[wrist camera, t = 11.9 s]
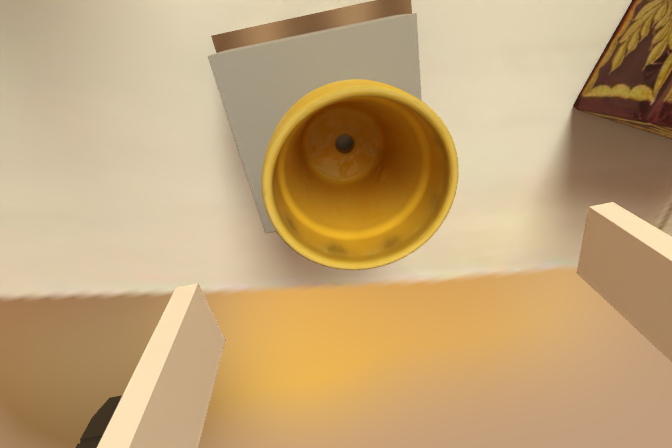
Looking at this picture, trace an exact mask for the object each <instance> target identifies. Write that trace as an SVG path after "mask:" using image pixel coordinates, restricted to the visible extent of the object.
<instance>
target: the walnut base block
mask: <svg viewBox="0 0 672 448" xmlns="http://www.w3.org/2000/svg"><path fill="white" fill-rule="evenodd" d="M402 14H412V9H411V0H375V1H371V2H366V3H361V4H357V5H352V6H347V7H343V8H338V9H334V10H329V11H324V12H320V13H315V14H310V15H306V16H301V17H296V18H292V19H287V20H283V21H278V22H273V23H269V24H264V25H259V26H255V27H250V28H245V29H241V30H236V31H232V32H227V33H222V34H218V35H213V36H211V37H212V40H213V43H214V46H215V49H216V52H217V53H219V52H222V51H225V50H229V49H234V48H238V47H243V46H248V45H253V44H258V43H263V42H268V41H272V40H277V39H282V38H287V37H292V36H297V35H301V34H306V33H311V32H316V31H321V30H326V29H331V28H335V27H340V26H345V25H350V24H355V23H360V22H365V21H369V20H374V19H379V18H384V17H389V16H394V15H402Z"/></svg>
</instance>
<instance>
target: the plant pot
mask: <svg viewBox="0 0 672 448" xmlns="http://www.w3.org/2000/svg"><path fill="white" fill-rule="evenodd" d="M342 135H349V136H350V137H351V138H352V140H353V144H352V146H351V147H350V148H349V149H347V150H341V149H339V148H338V147H337V146H336V140H337V138H338V137H340V136H342ZM457 183H458V159H457V153H456V149H455V146H454V142H453V140H452V137H451V135H450V133H449V131H448V129H447V127H446V126H445V124H444V123H443V122H442V120H441V119H440V118H439V116H438V115H437V114H436V113H435V112H434V111H433V110H432V109H431V108H430V107H428V106H427V105H426V104H425V103H423V102H422V101H421V100H419V99H418V98H416V97H414V96H413V95H411V94H409V93H407V92H405V91H403V90H401V89H399V88H396V87H394V86H391V85H388V84H385V83H381V82H377V81H372V80H364V79H350V80H342V81H337V82H333V83H329V84H326V85H324V86H322V87H319V88H317V89H315V90H313V91H311V92H310V93H308V94H306V95H305V96H303V97H302V98H301V99H299V100H298V101H297V102H296V103H295V104H294V105H293V106H292V107H291V108H290V109H289V110H288V111H287V112H286V113H285V115H284V116H283V117H282V119H281V120H280V122H279V123H278V125H277V127H276V129H275V131H274V133H273V135H272V137H271V140H270V142H269V145H268V148H267V151H266V155H265V159H264V164H263V170H262V178H261V186H262V196H263V201H264V206H265V209H266V212H267V214H268V217H269V219H270V221H271V223H272V225H273V227H274V228H275V230H276V231H277V233H278V234H279V235H280V237H281V238H282V239H283V240H284V241H285V242H286V243H287V244H288V245H289V246H290V247H291V248H292V249H293V250H295V251H296V252H297V253H299V254H300V255H302V256H303V257H305V258H307V259H309V260H311V261H313V262H315V263H318V264H320V265H323V266H327V267H331V268H336V269H344V270H362V269H371V268H376V267H380V266H384V265H387V264H390V263H393V262H395V261H398V260H400V259H402V258H404V257H406V256H407V255H409V254H411V253H412V252H414V251H415V250H417V249H418V248H419V247H421V246H422V245H423V244H424V243H426V242H427V241H428V240H429V239H430V238H431V237H432V236H433V234H434V233H435V232H436V231H437V230H438V228H439V227H440V226H441V224H442V223H443V221H444V220H445V218H446V216H447V214H448V212H449V210H450V208H451V206H452V203H453V200H454V197H455V194H456V189H457Z"/></svg>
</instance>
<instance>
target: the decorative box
mask: <svg viewBox="0 0 672 448" xmlns="http://www.w3.org/2000/svg"><path fill="white" fill-rule="evenodd" d="M574 107H575V108H576V109H578V110H581V111H584V112H587V113H590V114H593V115H597V116H600V117H603V118H606V119H609V120H613V121H616V122H619V123H622V124H625V125H629V126H632V127H635V128H638V129H642V130H645V131H648V132H651V133H654V134H658V135H661V136H664V137H667V138H670V139H672V0H632V2H631V4H630V6H629V8H628V9H627V11H626V13H625V15H624V16H623V18H622V20H621V22H620V23H619V25H618V27H617V29H616V30H615V32H614V34H613V36H612V37H611V39H610V41H609V43H608V45H607V46H606V48H605V50H604V52H603V53H602V55H601V57H600V59H599V60H598V62H597V64H596V66H595V67H594V69H593V71H592V73H591V75H590V76H589V78H588V80H587V82H586V83H585V85H584V87H583V89H582V91H581V92H580V94H579V96H578V98H577V100H576V102H575V104H574Z"/></svg>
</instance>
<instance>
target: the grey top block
mask: <svg viewBox="0 0 672 448" xmlns="http://www.w3.org/2000/svg"><path fill="white" fill-rule="evenodd" d="M208 59H209V62H210V65H211V68H212V71H213V74H214V77H215V80H216V83H217V86H218V89H219V92H220V95H221V99H222V102H223V105H224V108H225V111H226V114H227V117H228V120H229V123H230V126H231V129H232V132H233V135H234V138H235V141H236V145H237V148H238V151H239V154H240V157H241V160H242V163H243V166H244V169H245V172H246V175H247V178H248V181H249V184H250V187H251V191H252V194H253V197H254V200H255V203H256V206H257V209H258V212H259V215H260V218H261V221H262V224H263V227H264V230H265V233H270V232H275V231H276V230H275V228H274V227H273V225H272V223H271V221H270V219H269V217H268V214H267V212H266V209H265V206H264V201H263V196H262V186H261V178H262V170H263V164H264V159H265V155H266V151H267V148H268V145H269V142H270V140H271V137H272V135H273V133H274V131H275V129H276V127H277V125H278V123H279V122H280V120H281V119H282V117H283V116H284V115H285V113H286V112H287V111H288V110H289V109H290V108H291V107H292V106H293V105H294V104H295V103H296V102H297V101H298V100H299V99H301V98H302V97H303V96H305V95H306V94H308V93H310V92H311V91H313V90H315V89H317V88H319V87H322V86H324V85H326V84H329V83H333V82H337V81H342V80H350V79H364V80H372V81H377V82H381V83H385V84H388V85H391V86H394V87H396V88H399V89H401V90H403V91H405V92H407V93H409V94H411V95H413V96H414V97H416V98H418V99H419V100H421V86H420V69H419V51H418V34H417V17H416V13H415V14H402V15H394V16H389V17H384V18H379V19H374V20H369V21H365V22H360V23H355V24H350V25H345V26H340V27H335V28H331V29H326V30H321V31H316V32H311V33H306V34H301V35H297V36H292V37H287V38H282V39H277V40H272V41H268V42H263V43H258V44H253V45H248V46H243V47H238V48H234V49H229V50H225V51H222V52H219V53H216V54H213V55H210V56H208ZM352 144H353V140H352V138H351V137H350V136H349V135H342V136H340V137H338V138H337V140H336V146H337V147H338V148H339V149H341V150H347V149H349V148H350V147H351V146H352Z"/></svg>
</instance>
